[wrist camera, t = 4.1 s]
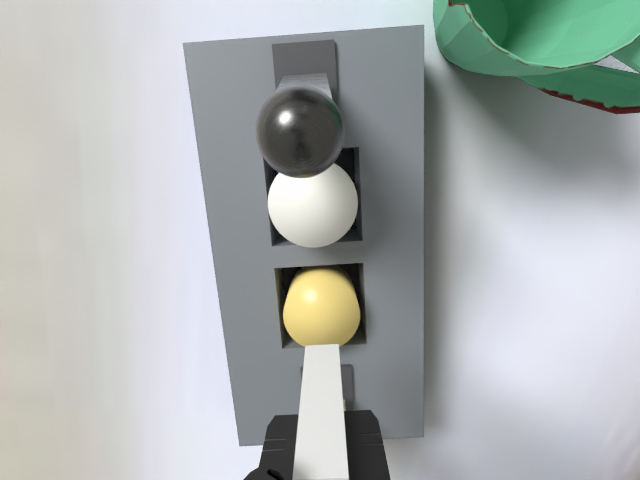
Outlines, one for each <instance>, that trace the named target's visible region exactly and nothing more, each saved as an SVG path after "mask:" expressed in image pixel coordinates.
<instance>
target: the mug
mask: <svg viewBox="0 0 640 480" xmlns="http://www.w3.org/2000/svg"><path fill="white" fill-rule="evenodd" d="M433 20H434V28H435V35H436V41H437V45H438V47H439V49H440V51H441V53H442V54H443V55H444V57H445V58H446V59H447V60H448V61H450V62H451V63H453V64H455V65H457V66H459V67H461V68H463V69H464V70H466V71H471V72H476V73H482V74H489V75H496V76H515V77H517V78H519V79H520V80H522V81H524V82H526V83H528V84H530V85H532V86H534V87H536V88H538V89H540V90H541V91H543V92H545V93H547V94H549V95H552V96H555V97H559V98H562V99H566V100H569V101H573V102H576V103H580V104H583V105H587V106H590V107H594V108H597V109H600V110H604V111H607V112H611V113H614V114H626V113H639V112H640V74H638V73H633V72H628V71H623V70H618V69H613V68H607V67H602V66H597V65H592V64H594V63H597V62H599V61H600V60H602V59H604V58H606V57H608V56H610V55H611V56H613V57H615V58H616V59H618V60H619V61H621V62H623V63H624V64H626V65H627V66H629V67H631V68H632V69H634V70H635V71H637V72H639V73H640V0H434V2H433Z"/></svg>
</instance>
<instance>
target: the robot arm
mask: <svg viewBox="0 0 640 480" xmlns="http://www.w3.org/2000/svg"><path fill="white" fill-rule="evenodd" d="M244 480H390V475H389V470H388V465H387V460H386V455H385V450H384V445H383V441H382V436H381V431H380V426H379V421H378V419H377V418H376V416H375V415H374V414H373V412H372V411H371V410H356V411H344V408H343V395H342V382H341V368H340V355H339V344H328V345H309V346H305V355H304V365H303V376H302V386H301V396H300V407H299V414H292V415H275V416H274V418H273V419H272V420H271V422H270V423H269V425H268V426H267V430H266V435H265V441H264V445H263V451H262V454H261V459H260V464H259V467H258V468H257V469H255V470H253V471H251V472H250V473H249V474H248V475H247V476H246V478H245V479H244Z"/></svg>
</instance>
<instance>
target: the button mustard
mask: <svg viewBox="0 0 640 480" xmlns="http://www.w3.org/2000/svg"><path fill="white" fill-rule="evenodd" d="M283 320H284V324H285V327H286V329H287V332H288V333H289V335H290V336H291V337H292V338H293V339H294V340H295V341H296V342H297V343H298V344H300V345H302V346H304V347H305V346H309V345H328V344H339V347H340V346H342V345H343V344H345V343H346V342H348V341H349V340H350V339H351V338H352V336H353V335H354V334H355V332H356V330H357V328H358V325H359V322H360V309H359V305H358V301H357V297H356V293H355V289H354V285H353V282H352V279H351V278H350V276H349V275H348V273H347V272H346V271H345V270H344V269H342V268H341V267H340V266H338V265H336V264H334V265H318V266H304V267H302V268H301V269H300V270H299V271H298V272H297V273H296V274H295V275H294V277H293V278H292V280H291V283H290V287H289V290H288V294H287V298H286V302H285V306H284V311H283Z"/></svg>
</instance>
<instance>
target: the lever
mask: <svg viewBox="0 0 640 480" xmlns="http://www.w3.org/2000/svg"><path fill="white" fill-rule="evenodd" d="M255 133H256V140H257V145H258V148H259V150H260V152H261V154H262V156H263V158H264V159H265V161H266V162H267V163H268V164H269V165H270V166H271V167H272V168H273V169H275V170H276V171H277V172H279V173H281V174H283V175H285V176H288V177H292V178H310V177H314V176H316V175H319V174H321V173H323V172H324V171H326V170H327V169H328V168H329V167H331V166H332V165H333V163H334V162H335V161H336V160H337V158H338V156H339V155H340V152H341V150H342V147H343V144H344V139H345V127H344V121H343V117H342V115H341V112H340V110H339V108H338V107H337V105H336V104H335V102H334V101H333V100H332V96H331V92H330V88H329V83H328V79H327V75H326V73H317V74H303V75H290V76H283V78H282V80H281V82H280V84H279V86H278V88H277V90H276V92H275V93H274V94H273V95H272V96H270V97H269V98H268V99H267V101H266V102H265V103H264V104H263V106H262V108H261V110H260V112H259V114H258V117H257V121H256V131H255Z"/></svg>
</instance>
